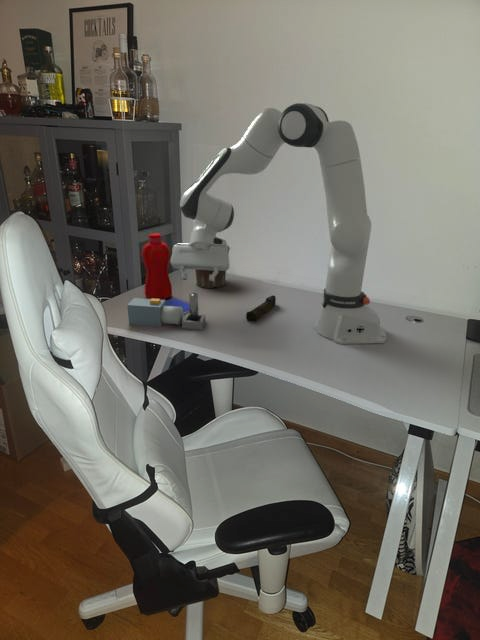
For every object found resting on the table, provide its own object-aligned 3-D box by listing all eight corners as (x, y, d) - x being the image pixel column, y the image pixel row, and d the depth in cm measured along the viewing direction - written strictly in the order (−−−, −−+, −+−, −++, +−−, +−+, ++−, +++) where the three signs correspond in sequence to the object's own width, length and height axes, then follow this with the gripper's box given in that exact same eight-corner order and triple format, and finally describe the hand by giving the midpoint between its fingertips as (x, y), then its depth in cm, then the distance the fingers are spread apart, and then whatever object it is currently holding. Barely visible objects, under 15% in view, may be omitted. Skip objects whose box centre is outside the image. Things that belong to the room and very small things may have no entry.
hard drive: (158, 303, 152) (181, 312, 145) (175, 297, 158) (198, 305, 151) (158, 307, 152) (181, 316, 145) (175, 301, 158) (198, 309, 151)
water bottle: (153, 290, 167) (148, 229, 156) (175, 295, 162) (172, 232, 152) (138, 297, 159) (132, 233, 149) (161, 303, 155) (157, 237, 144)
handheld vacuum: (205, 321, 141) (205, 299, 137) (201, 329, 135) (201, 306, 131) (135, 316, 143) (133, 294, 140) (129, 324, 137) (126, 301, 134)
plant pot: (199, 276, 185) (199, 240, 178) (234, 279, 181) (234, 244, 175) (186, 287, 171) (184, 250, 164) (223, 292, 167) (223, 253, 160)
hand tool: (255, 323, 140) (255, 311, 138) (245, 321, 142) (245, 308, 140) (281, 307, 155) (282, 295, 153) (272, 304, 157) (272, 293, 155)
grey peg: (200, 322, 139) (200, 292, 135) (198, 327, 136) (197, 296, 132) (190, 322, 140) (189, 292, 135) (187, 326, 136) (186, 296, 132)
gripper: (171, 238, 141) (165, 274, 136) (230, 240, 139) (226, 277, 134) (175, 247, 147) (169, 282, 142) (231, 250, 145) (228, 285, 140)
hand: (197, 279), depth 138 cm, fingers open, 8 cm apart
